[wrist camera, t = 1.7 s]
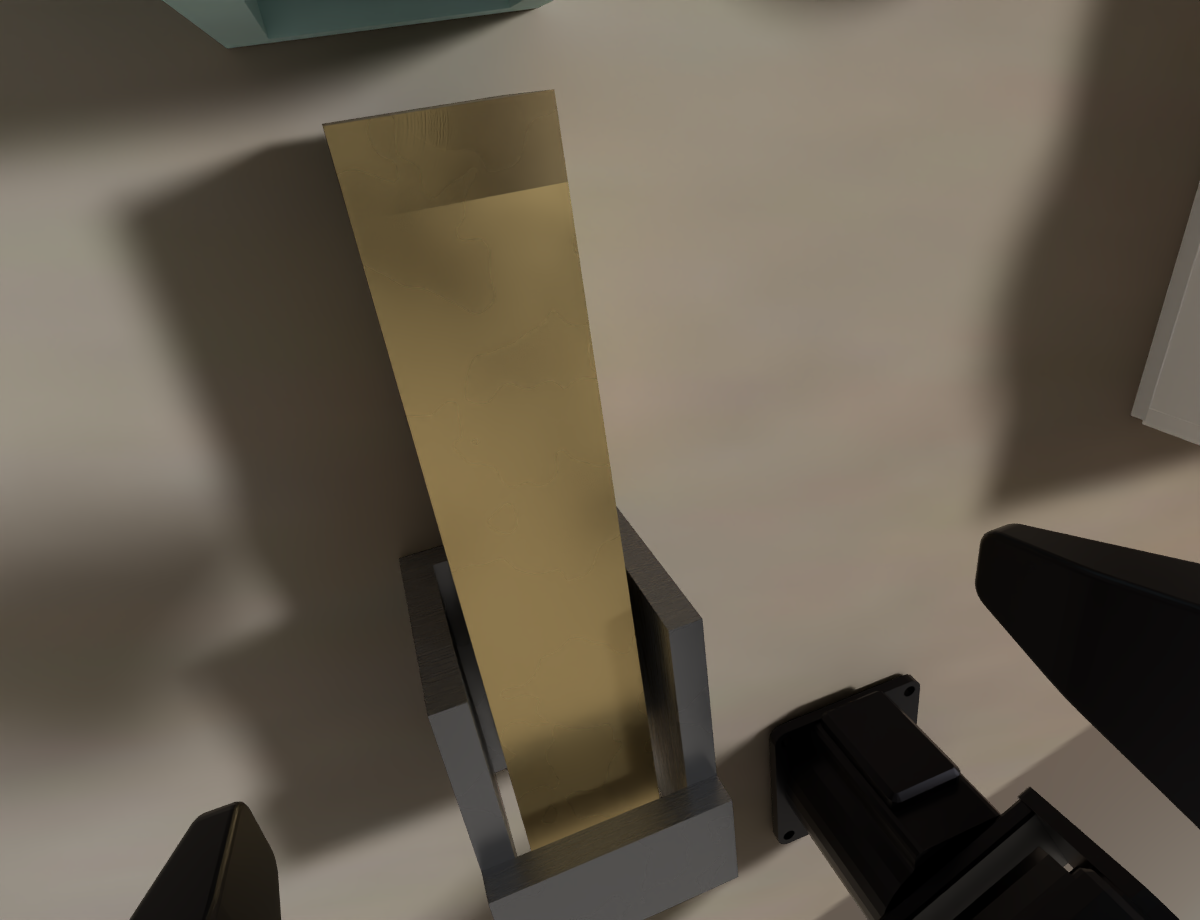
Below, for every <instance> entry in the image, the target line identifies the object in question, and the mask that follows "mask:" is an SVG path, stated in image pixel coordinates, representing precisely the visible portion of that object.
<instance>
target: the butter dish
mask: <svg viewBox="0 0 1200 920" xmlns="http://www.w3.org/2000/svg"><path fill="white" fill-rule="evenodd" d="M1131 416H1133V417H1136V418H1139V419H1141V420H1143V421H1142V424H1143V425H1146V426H1149V427H1152V428H1154V429H1157V430H1160V431H1162V432H1165V433H1168V434H1170V435H1173V436H1176V437H1178V438H1181V439H1184V440H1186V441H1189V442H1192V443H1194V444H1197V445H1200V182H1199V185H1198V189H1197V192H1196V195H1195V199H1194V202H1193V206H1192V209H1191V212H1190V216H1189V219H1188V223H1187V226H1186V229H1185V233H1184V236H1183V239H1182V243H1181V246H1180V250H1179V253H1178V256H1177V260H1176V263H1175V267H1174V270H1173V273H1172V277H1171V280H1170V283H1169V287H1168V290H1167V294H1166V297H1165V300H1164V304H1163V307H1162V310H1161V314H1160V317H1159V321H1158V324H1157V327H1156V331H1155V334H1154V338H1153V341H1152V344H1151V348H1150V351H1149V354H1148V358H1147V361H1146V365H1145V368H1144V371H1143V375H1142V378H1141V382H1140V385H1139V388H1138V392H1137V395H1136V398H1135V402H1134V405H1133V409H1132V412H1131Z"/></svg>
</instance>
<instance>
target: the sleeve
mask: <svg viewBox="0 0 1200 920" xmlns="http://www.w3.org/2000/svg"><path fill="white" fill-rule="evenodd" d="M616 509H617V516H618V523H619V529H620V536H621V543H622V549H623V556H624V563H625V570H626V576H627V583H628V590H629V597H630V603H631V610H632V617H633V623H634V630H635V637H636V644H637V650H638V657H639V664H640V670H641V677H642V684H643V691H644V697H645V704H646V711H647V718H648V724H649V731H650V738H651V744H652V751H653V758H654V765H655V771H656V778H657V785H658V787H659V789H660V791H661V793H662V795H663V797H661V798H659V799H656V800H654V801H651V802H649V803H647V804H644V805H642V806H639V807H637V808H634V809H632V810H630V811H627V812H625V813H622V814H620V815H618V816H615V817H613V818H610V819H608V820H605V821H603V822H601V823H598V824H596V825H593V826H591V827H589V828H586V829H584V830H581V831H579V832H576V833H574V834H572V835H569V836H567V837H564V838H562V839H560V840H557V841H555V842H552V843H550V844H547V845H545V846H543V847H540V848H538V849H535V850H533V851H531V852H528V853H526V854H523V855H521V856H518V857H517V853H516V849H515V845H514V842H513V838H512V834H511V831H510V827H509V823H508V819H507V816H506V812H505V808H504V805H503V801H502V797H501V793H500V790H499V786H498V782H497V779H496V775H495V772H498V771H501V770H503V769H506V768H507V765H506V762H505V758H504V755H503V751H502V748H501V744H500V741H499V737H498V734H497V730H496V727H495V723H494V720H493V717H492V713H491V710H490V706H489V703H488V699H487V696H486V692H485V689H484V685H483V682H482V678H481V675H480V671H479V668H478V664H477V661H476V657H475V654H474V650H473V647H472V644H471V640H470V637H469V633H468V630H467V626H466V623H465V619H464V616H463V612H462V609H461V605H460V602H459V598H458V595H457V591H456V588H455V584H454V581H453V577H452V574H451V571H450V567H449V564H448V560H447V557H446V553H445V550H444V546H443V545H442V546H439V547H436V548H433V549H429V550H426V551H423V552H419V553H416V554H413V555H409V556H406V557H403V558H399V562H400V567H401V573H402V578H403V583H404V589H405V594H406V600H407V605H408V611H409V616H410V622H411V627H412V633H413V638H414V644H415V649H416V654H417V660H418V665H419V671H420V676H421V682H422V687H423V693H424V698H425V704H426V709H427V714H428V718H429V721H430V724H431V727H432V730H433V733H434V736H435V739H436V741H437V744H438V747H439V750H440V753H441V756H442V759H443V762H444V765H445V767H446V770H447V773H448V776H449V779H450V782H451V785H452V788H453V791H454V794H455V796H456V799H457V802H458V805H459V808H460V811H461V814H462V817H463V820H464V822H465V825H466V828H467V831H468V834H469V837H470V840H471V843H472V846H473V848H474V851H475V854H476V857H477V860H478V863H479V866H480V869H481V872H482V876H483V881H484V885H485V890H486V895H487V899H488V904H489V907H490V910H491V912H492V915H493V918H494V920H644V919H646V918H649V917H651V916H653V915H655V914H657V913H660V912H662V911H664V910H666V909H668V908H671V907H673V906H675V905H677V904H679V903H682V902H684V901H686V900H688V899H690V898H693V897H695V896H697V895H699V894H702V893H704V892H706V891H708V890H710V889H713V888H715V887H717V886H719V885H721V884H724V883H726V882H728V881H730V880H732V879H735V878H737V877H738V868H737V855H736V843H735V830H734V817H733V805H732V799H731V798H730V796H729V794H728V793H727V791H726V789H725V788H724V786H723V784H722V783H721V781H720V779H719V778H718V776H717V774H716V763H715V752H714V741H713V730H712V719H711V709H710V698H709V687H708V676H707V665H706V654H705V643H704V632H703V621H702V618H701V616H700V615H699V614H698V612H697V611H696V610H695V609H694V607H693V606H692V605H691V603H690V602H689V601H688V599H687V598H686V597H685V595H684V594H683V593H682V592H681V590H680V589H679V588H678V586H677V585H676V584H675V582H674V581H673V580H672V578H671V577H670V576H669V575H668V573H667V572H666V571H665V569H664V568H663V567H662V565H661V564H660V563H659V561H658V560H657V559H656V558H655V556H654V555H653V554H652V552H651V551H650V550H649V548H648V547H647V546H646V544H645V543H644V542H643V541H642V539H641V538H640V537H639V535H638V534H637V533H636V531H635V530H634V529H633V527H632V526H631V525H630V524H629V522H628V521H627V520H626V518H625V517H624V516H623V514H622V513H621V512H620V510H619V509H618V508H617V507H616Z"/></svg>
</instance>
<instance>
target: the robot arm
mask: <svg viewBox="0 0 1200 920" xmlns="http://www.w3.org/2000/svg"><path fill="white" fill-rule="evenodd" d="M975 587H976V591H977V594H978V596H979V598H980V600H981V601H982V603H983V604H984V605H985V606H986V608H987V609H988V610H989V611H990V612H991V613H992V614H993V616H994V617H995V618H996V619H997V620H998V621H999V623H1000V624H1001V625H1002V626H1003V627H1004V628H1005V630H1006V631H1007V632H1008V633H1009V634H1010V635H1011V637H1012V638H1013V639H1014V640H1015V641H1016V642H1017V643H1018V645H1019V646H1020V647H1021V648H1022V649H1023V650H1024V652H1025V653H1026V654H1027V655H1028V656H1029V657H1030V659H1031V660H1032V661H1033V662H1034V663H1035V664H1036V665H1037V667H1038V668H1039V669H1040V670H1041V671H1042V672H1043V674H1044V675H1045V676H1046V677H1047V678H1048V679H1049V681H1050V682H1051V683H1052V684H1053V685H1054V686H1055V687H1056V688H1057V689H1058V691H1059V692H1060V693H1061V694H1062V695H1063V696H1064V697H1065V698H1066V699H1067V700H1068V701H1069V702H1070V703H1071V704H1072V705H1073V706H1074V707H1075V708H1076V709H1077V710H1078V711H1079V712H1080V713H1081V714H1082V715H1083V716H1084V717H1085V718H1086V719H1087V720H1088V721H1089V722H1090V723H1091V724H1092V725H1093V726H1094V727H1095V728H1096V729H1097V730H1098V731H1099V732H1100V733H1101V734H1102V735H1103V736H1104V737H1105V738H1106V739H1107V740H1109V742H1110V743H1112V744H1113V745H1114V746H1115V747H1116V748H1117V749H1118V750H1119V751H1120V752H1121V753H1122V754H1123V755H1124V756H1125V757H1126V758H1127V759H1128V760H1129V761H1130V762H1131V763H1132V764H1133V765H1134V766H1135V767H1136V768H1137V769H1138V770H1139V771H1140V772H1142V774H1144V776H1145V777H1146V778H1148V779H1149V780H1150V781H1151V782H1152V783H1153V784H1154V785H1155V786H1156V787H1157V788H1158V789H1159V790H1160V791H1161V792H1162V793H1163V794H1164V795H1165V796H1166V797H1167V798H1168V799H1169V800H1170V801H1171V802H1172V803H1173V804H1174V805H1176V807H1177V808H1178V809H1179V810H1180V811H1182V812H1183V814H1185V815H1186V816H1187V817H1188V818H1189V819H1190V820H1191V821H1192V822H1193V823H1194V824H1195V825H1196V826H1197V827H1198V828H1199V829H1200V564H1199V563H1195V562H1190V561H1186V560H1181V559H1177V558H1172V557H1167V556H1163V555H1158V554H1154V553H1149V552H1145V551H1140V550H1136V549H1131V548H1127V547H1122V546H1118V545H1113V544H1108V543H1104V542H1099V541H1095V540H1090V539H1086V538H1081V537H1077V536H1072V535H1068V534H1063V533H1058V532H1054V531H1049V530H1045V529H1040V528H1036V527H1031V526H1027V525H1022V524H1008V525H1005V526H1002V527H1000V528H997V529H994V530H991V531H989V532H987V533H986V534H984V536H983V537H982V539H981V542H980V548H979V556H978V563H977V571H976V578H975ZM919 693H920V684H919V683H918V682H917V681H916V680H915V679H914V678H913V677H912V676H911V675H908V674H907V675H903V676H900V677H898V678H895V679H893V680H890V681H888V682H885V683H883V684H880V685H878V686H876V687H873V688H871V689H868V690H866V691H863V692H861V693H858V694H856V695H853V696H851V697H848V698H846V699H843V700H841V701H839V702H836V703H834V704H831V705H829V706H826V707H824V708H821V709H819V710H816V711H814V712H811V713H809V714H806V715H804V716H801V717H799V718H797V719H794V720H792V721H789V722H787V723H784V724H782V725H780V726H778V727H776V728H775V729H774V730H773V731H772V733H771V735H770V739H769V740H770V765H771V790H772V815H773V833H774V835H775V837H776V838H777V840H778V841H779V843H781V844H787V843H790V842H792V841H795V840H797V839H799V838H801V837H804V836H806V835H808V834H809V835H810V836H811V838H812V839H813V841H814V842H815V843H816V845H817V846H818V848H819V849H820V851H821V852H822V854H823V855H824V857H825V858H826V860H827V861H828V862H829V864H830V865H831V867H832V868H833V870H834V871H835V873H836V874H837V876H838V877H839V879H840V880H841V882H842V883H843V884H844V886H845V887H846V889H847V890H848V892H849V893H850V895H851V896H852V898H853V899H854V900H855V902H856V903H857V905H858V906H859V907H860V909H861V911H862V912H863V913H864V915H865V916H866V918H867V920H1179V919H1178V918H1177V917H1176V916H1175V915H1174V914H1173V913H1172V912H1171V911H1170V910H1169V909H1168V908H1167V907H1166V906H1165V905H1164V904H1163V903H1162V902H1161V901H1160V900H1159V899H1158V898H1157V897H1156V896H1154V895H1153V894H1152V893H1151V892H1150V891H1149V890H1148V889H1147V888H1146V887H1145V886H1144V885H1143V884H1141V883H1140V882H1139V881H1138V880H1137V879H1136V878H1134V876H1132V875H1131V874H1130V873H1129V872H1128V871H1127V870H1126V869H1124V868H1123V867H1122V866H1121V865H1120V864H1119V863H1117V862H1116V861H1115V860H1114V859H1113V858H1112V857H1111V856H1109V855H1108V854H1107V853H1106V852H1105V851H1104V850H1103V849H1101V848H1100V847H1099V846H1098V845H1096V843H1094V842H1093V841H1092V840H1091V839H1090V838H1089V837H1088V836H1086V835H1085V834H1084V833H1083V832H1081V830H1079V829H1078V828H1077V827H1076V826H1075V825H1073V824H1072V823H1071V822H1070V821H1069V820H1068V819H1067V818H1065V817H1064V816H1063V815H1062V814H1061V813H1060V812H1059V811H1058V810H1056V809H1055V808H1054V807H1053V806H1052V805H1051V804H1049V803H1048V802H1047V801H1046V800H1045V799H1044V798H1043V797H1041V796H1040V795H1039V794H1038V793H1037V792H1036V791H1034V790H1033V789H1032V788H1031V787H1028V788H1027V789H1026V790H1025V791H1024V792H1022V793H1021V794H1020V795H1019V796H1018V799H1019V800H1018V801H1017V802H1016V803H1015V804H1013V805H1012V806H1011V807H1010V808H1009V809H1008V810H1006V811H1005V812H1004V813H1003V814H1002V815H1001V814H1000V813H999V812H998V811H997V810H996V809H995V807H994V806H993V805H992V804H991V803H990V802H989V801H988V800H987V799H986V798H985V797H984V796H983V795H982V794H981V793H980V792H979V791H978V790H977V789H976V788H975V787H974V786H973V785H972V784H971V783H970V782H969V781H968V780H967V779H966V778H965V777H964V776H963V775H962V774H961V773H960V769H959V768H958V766H957V765H956V764H955V763H954V762H953V761H952V760H951V759H950V758H949V757H948V756H947V755H946V754H945V753H944V752H943V751H942V750H941V749H940V748H939V747H938V746H937V745H936V744H935V743H934V742H933V741H932V740H931V739H930V738H929V737H928V736H927V735H926V734H925V733H924V732H923V731H922V730H921V729H920V728H919V727H918V726H917V714H918V703H919ZM1067 863H1069V864H1070V865H1071V866H1072V867H1073V868H1074V869H1073V870H1072V871H1070V872H1068V871H1067V870H1066V869H1065V868H1063V867H1064V866H1065V865H1066V864H1067ZM130 920H281V910H280V895H279V881H278V870H277V864H276V860H275V857H274V854H273V851H272V849H271V847H270V845H269V843H268V841H267V840H266V838H265V836H264V834H263V832H262V831H261V829H260V827H259V825H258V823H257V821H256V820H255V818H254V816H253V814H252V812H251V810H250V809H249V807H248V806H247V805H246V804H245V803H243V802H233V803H231V804H228V805H225V806H222V807H220V808H217V809H214V810H211V811H208V812H206V813H203V814H201V815H200V816H198V817H197V819H196V820H195V821H194V822H193V823H192V824H191V826H190V827H189V829H188V830H187V832H186V833H185V835H184V837H183V838H182V840H181V841H180V843H179V844H178V846H177V847H176V849H175V850H174V852H173V853H172V855H171V857H170V858H169V860H168V861H167V863H166V864H165V866H164V867H163V869H162V870H161V872H160V873H159V875H158V877H157V878H156V880H155V881H154V883H153V884H152V886H151V887H150V889H149V890H148V892H147V894H146V895H145V897H144V898H143V900H142V901H141V903H140V904H139V906H138V907H137V909H136V910H135V912H134V914H133V915H132V917H131V918H130Z"/></svg>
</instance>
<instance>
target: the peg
mask: <svg viewBox="0 0 1200 920" xmlns="http://www.w3.org/2000/svg"><path fill="white" fill-rule="evenodd" d="M322 126H323V129H324V133H325V136H326V139H327V143H328V146H329V150H330V153H331V157H332V160H333V164H334V167H335V171H336V174H337V178H338V181H339V185H340V188H341V192H342V195H343V199H344V202H345V206H346V209H347V212H348V216H349V219H350V223H351V226H352V230H353V233H354V237H355V240H356V244H357V247H358V251H359V254H360V258H361V261H362V265H363V268H364V272H365V275H366V279H367V282H368V285H369V289H370V292H371V296H372V299H373V303H374V306H375V310H376V313H377V317H378V320H379V324H380V327H381V331H382V334H383V338H384V341H385V345H386V348H387V352H388V355H389V358H390V362H391V365H392V369H393V372H394V376H395V379H396V383H397V386H398V390H399V393H400V397H401V400H402V404H403V407H404V411H405V414H406V418H407V421H408V425H409V428H410V431H411V435H412V438H413V442H414V445H415V449H416V452H417V456H418V459H419V463H420V466H421V470H422V473H423V477H424V480H425V484H426V487H427V491H428V494H429V498H430V501H431V504H432V508H433V511H434V515H435V518H436V522H437V525H438V529H439V532H440V536H441V539H442V543H443V546H444V550H445V553H446V557H447V560H448V564H449V567H450V571H451V574H452V577H453V581H454V584H455V588H456V591H457V595H458V598H459V602H460V605H461V609H462V612H463V616H464V619H465V623H466V626H467V630H468V633H469V637H470V640H471V644H472V647H473V650H474V654H475V657H476V661H477V664H478V668H479V671H480V675H481V678H482V682H483V685H484V689H485V692H486V696H487V699H488V703H489V706H490V710H491V713H492V717H493V720H494V723H495V727H496V730H497V734H498V737H499V741H500V744H501V748H502V751H503V755H504V758H505V762H506V765H507V769H508V772H509V776H510V779H511V782H512V786H513V789H514V793H515V796H516V800H517V803H518V806H519V810H520V813H521V817H522V820H523V824H524V827H525V831H526V834H527V837H528V841H529V844H530V848H531V851H533V850H535V849H538V848H540V847H543V846H545V845H547V844H550V843H552V842H555V841H557V840H560V839H562V838H564V837H567V836H569V835H572V834H574V833H576V832H579V831H581V830H584V829H586V828H589V827H591V826H593V825H596V824H598V823H601V822H603V821H605V820H608V819H610V818H613V817H615V816H618V815H620V814H622V813H625V812H627V811H630V810H632V809H634V808H637V807H639V806H642V805H644V804H647V803H649V802H651V801H654V800H656V799H659V791H658V785H657V778H656V771H655V765H654V758H653V751H652V744H651V738H650V731H649V724H648V718H647V711H646V704H645V697H644V691H643V684H642V677H641V670H640V664H639V657H638V650H637V644H636V637H635V630H634V623H633V617H632V610H631V603H630V597H629V590H628V583H627V576H626V570H625V563H624V556H623V549H622V543H621V536H620V529H619V523H618V516H617V509H616V502H615V496H614V489H613V482H612V475H611V469H610V462H609V455H608V449H607V442H606V435H605V428H604V422H603V415H602V408H601V402H600V395H599V388H598V381H597V375H596V368H595V361H594V354H593V348H592V341H591V334H590V328H589V321H588V314H587V307H586V301H585V294H584V287H583V281H582V274H581V267H580V260H579V254H578V247H577V240H576V233H575V227H574V220H573V213H572V207H571V200H570V193H569V186H568V180H567V173H566V166H565V160H564V153H563V146H562V139H561V133H560V126H559V119H558V112H557V106H556V99H555V92H554V90H545V91H536V92H527V93H518V94H509V95H502V96H495V97H489V98H483V99H476V100H470V101H464V102H457V103H451V104H445V105H438V106H432V107H426V108H419V109H413V110H407V111H401V112H394V113H388V114H382V115H375V116H369V117H363V118H356V119H350V120H344V121H337V122H331V123H325V124H322Z"/></svg>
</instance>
